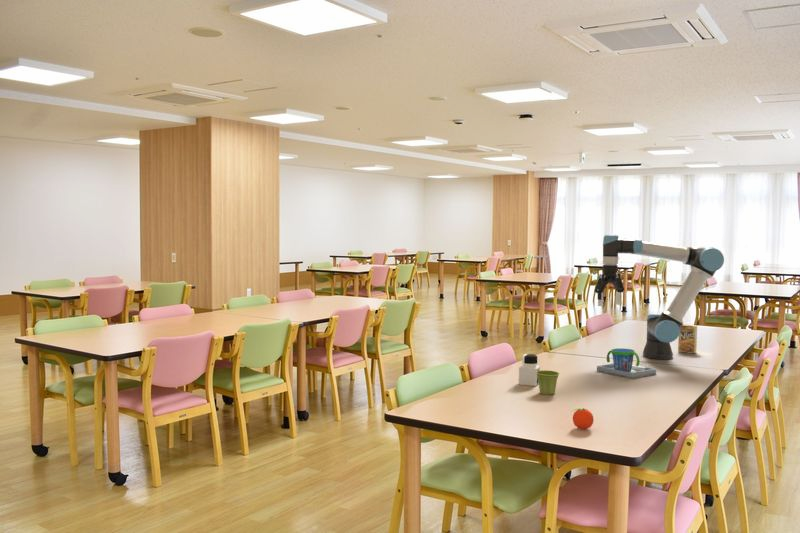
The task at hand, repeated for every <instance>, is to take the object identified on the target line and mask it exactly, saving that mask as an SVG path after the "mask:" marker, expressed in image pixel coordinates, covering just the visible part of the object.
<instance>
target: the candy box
mask: <svg viewBox="0 0 800 533" xmlns="http://www.w3.org/2000/svg"><path fill="white" fill-rule="evenodd" d="M697 339H698V325H695V324H694V325H693V324H683V325H682V326H681V328H680V334H679V336H678V340H677V341H678V342H677V343H678V347H677V352H678V351H679V353H685V352H689V353H688V354H692V353H695V354H697V345H698V344H697V342H698V340H697Z"/></svg>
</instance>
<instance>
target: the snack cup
mask: <svg viewBox="0 0 800 533" xmlns="http://www.w3.org/2000/svg"><path fill="white" fill-rule="evenodd" d="M606 354H607V355H606V362H607V363H610V362H611V360H610V354H612V361H613V362H612V364H613V363H614V369H616V370H621V371H626V372H631V368H632V364H633V362H634V356H635V358H636V364H635V365H636V366H640V357H639V355H638V353H636V350H634V349H630V348H612V349H611V350H609V351H608V352H607V353H606Z"/></svg>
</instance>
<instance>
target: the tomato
mask: <svg viewBox="0 0 800 533" xmlns="http://www.w3.org/2000/svg"><path fill="white" fill-rule="evenodd" d="M573 411H575V412H574V413H573V415H572V422H573V425H574V426H575V427H577V429H579V430H588V429H589V428H591V427H592V425H593V424H594V416H593V413H592V412H591V411H590V410H589V409H586V408H576V409H573V410H572V412H573Z"/></svg>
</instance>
